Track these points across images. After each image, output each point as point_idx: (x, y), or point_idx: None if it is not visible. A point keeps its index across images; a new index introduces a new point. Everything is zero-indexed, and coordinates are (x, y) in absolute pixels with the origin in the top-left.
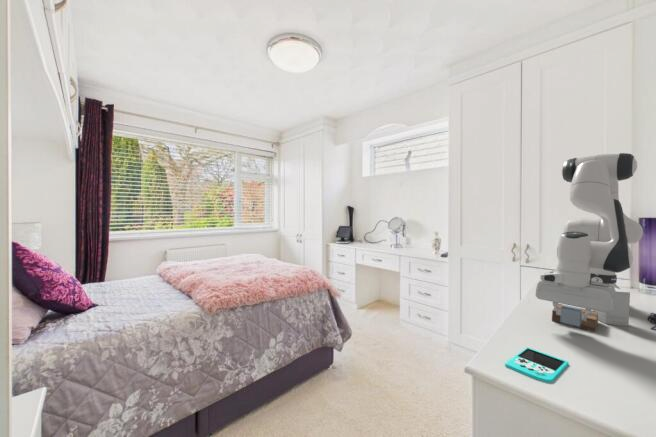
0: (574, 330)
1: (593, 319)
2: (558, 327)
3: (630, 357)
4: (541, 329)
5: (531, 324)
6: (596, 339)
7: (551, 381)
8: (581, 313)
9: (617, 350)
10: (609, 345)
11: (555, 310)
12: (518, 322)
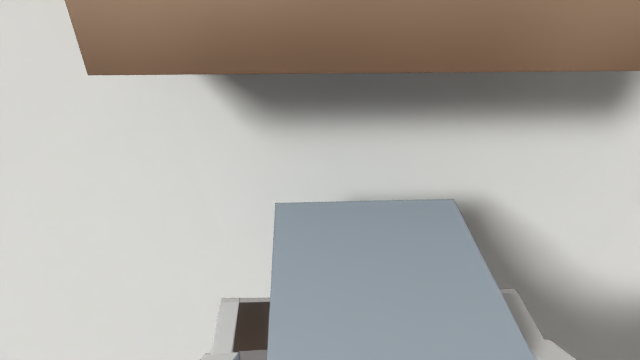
0: (377, 161)
1: (634, 62)
2: (258, 190)
3: (607, 346)
4: (185, 318)
5: (91, 282)
6: (510, 233)
7: None
8: (495, 306)
9: (579, 311)
10: (562, 274)
11: (117, 30)
12: (14, 310)
